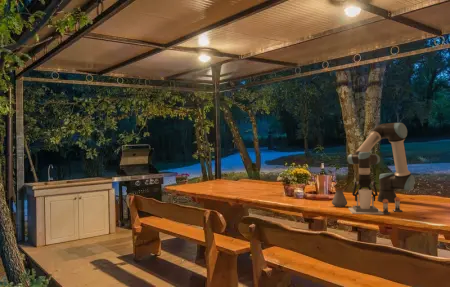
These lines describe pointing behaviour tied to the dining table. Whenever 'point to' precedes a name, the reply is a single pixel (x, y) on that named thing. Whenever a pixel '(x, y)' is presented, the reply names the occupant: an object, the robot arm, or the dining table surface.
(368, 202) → the foam cup
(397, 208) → the pegs
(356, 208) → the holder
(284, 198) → the dining table surface
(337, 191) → the coffee pot
